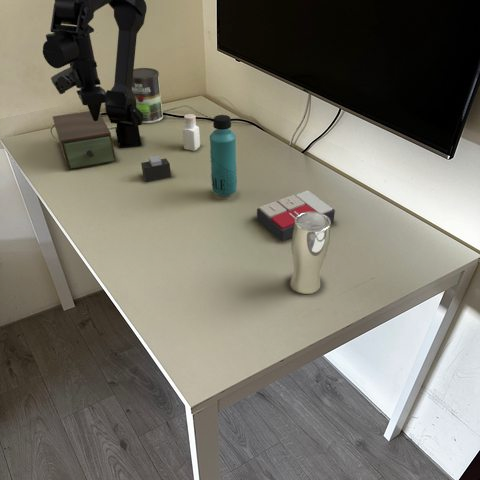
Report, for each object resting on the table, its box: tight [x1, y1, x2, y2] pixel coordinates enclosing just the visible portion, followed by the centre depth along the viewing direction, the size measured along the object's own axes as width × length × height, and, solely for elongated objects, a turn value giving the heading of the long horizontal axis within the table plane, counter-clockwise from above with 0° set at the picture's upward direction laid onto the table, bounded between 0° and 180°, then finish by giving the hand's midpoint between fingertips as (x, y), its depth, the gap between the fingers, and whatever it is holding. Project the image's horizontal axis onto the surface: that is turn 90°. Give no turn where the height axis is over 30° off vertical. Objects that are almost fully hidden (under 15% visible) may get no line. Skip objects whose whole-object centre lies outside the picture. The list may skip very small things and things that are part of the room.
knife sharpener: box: [140, 154, 172, 183], centre depth 128 cm, size 7×3×5 cm, turn 113°
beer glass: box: [289, 212, 332, 295], centre depth 91 cm, size 7×7×15 cm
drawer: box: [64, 136, 114, 169], centre depth 136 cm, size 19×12×7 cm, turn 23°
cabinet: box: [52, 110, 117, 170], centre depth 138 cm, size 18×13×8 cm
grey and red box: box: [256, 190, 336, 242], centre depth 112 cm, size 11×4×15 cm
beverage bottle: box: [209, 114, 238, 197], centre depth 115 cm, size 6×7×20 cm
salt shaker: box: [181, 113, 201, 152], centre depth 139 cm, size 4×4×10 cm
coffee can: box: [132, 67, 164, 124], centre depth 155 cm, size 10×10×14 cm
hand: (95, 120), depth 127 cm, fingers closed
